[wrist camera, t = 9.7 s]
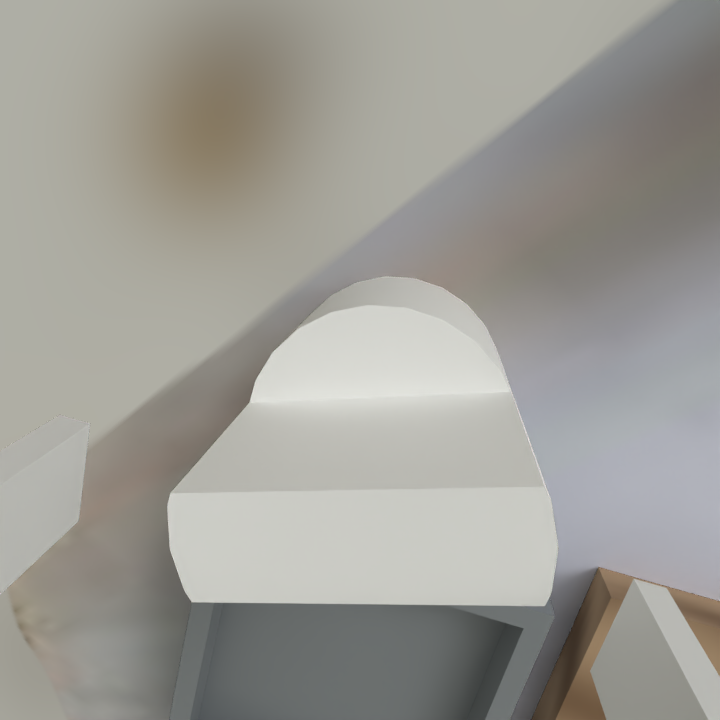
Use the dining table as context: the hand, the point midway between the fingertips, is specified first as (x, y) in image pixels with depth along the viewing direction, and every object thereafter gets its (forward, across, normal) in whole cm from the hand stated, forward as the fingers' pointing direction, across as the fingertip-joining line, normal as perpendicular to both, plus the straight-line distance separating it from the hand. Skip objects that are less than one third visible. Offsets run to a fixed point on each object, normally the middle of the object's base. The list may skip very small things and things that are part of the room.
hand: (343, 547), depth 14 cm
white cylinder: (+12, 0, 0) cm, 12 cm away
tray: (+12, +2, -14) cm, 18 cm away
